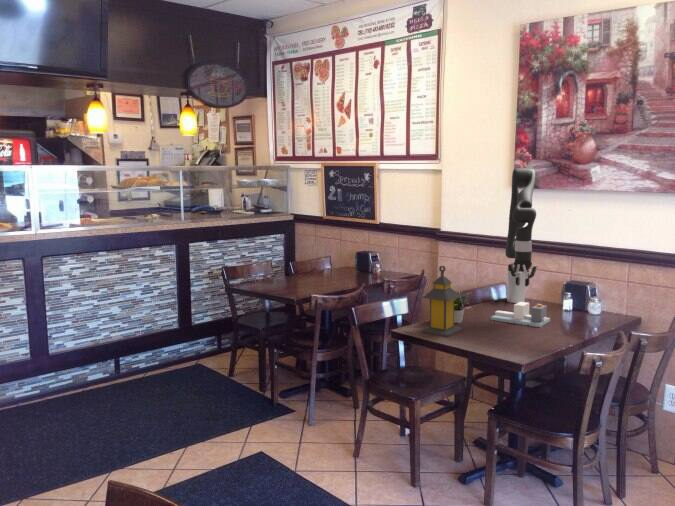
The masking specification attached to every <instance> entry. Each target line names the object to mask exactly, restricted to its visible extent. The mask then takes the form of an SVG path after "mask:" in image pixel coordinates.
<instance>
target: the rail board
mask: <svg viewBox="0 0 675 506" xmlns="http://www.w3.org/2000/svg"><path fill="white" fill-rule="evenodd" d="M547 313H548V305H544V304H542V303H537V304H536V305H534V306H532V307H531V313H530V314H529V315H527V314H526V315H524V320H519V319H514V311H513V312H511V311H504V310H495V311H494V315H492V316H490V321H494V320H495V322H501V323H507V322H508V323H509V324H514V323H515V324H516V325H521V324H522V325H523V326H527V325H529V327H536V328H542V327H543V326H544V325H546V324H548V323H550V322H551V317H548V316H547V315H548V314H547ZM508 323H507V324H508ZM522 325H521V326H522Z"/></svg>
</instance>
